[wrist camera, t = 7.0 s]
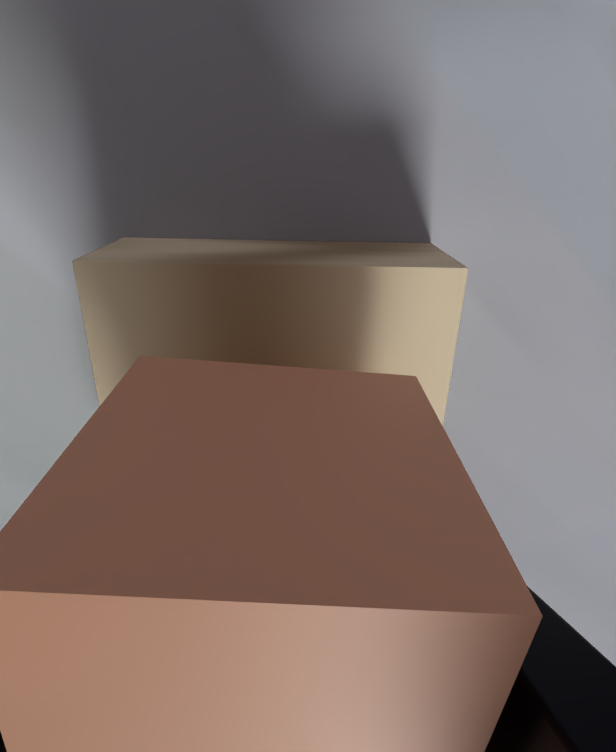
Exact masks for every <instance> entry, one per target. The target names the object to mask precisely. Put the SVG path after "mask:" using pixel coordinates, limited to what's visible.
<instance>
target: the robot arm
mask: <svg viewBox="0 0 616 752" xmlns="http://www.w3.org/2000/svg"><path fill="white" fill-rule="evenodd" d="M527 587H528V586H527ZM528 589H529V591H530V593H531V595H532V597H533V599H534V600H535V602H536V604H537V606H538V608H539V610H540V612H541V614H542V616H543V617H542V619H541V621H540V624H539V626H538V628H537V631H536V633H535V635H534V638H533V640H532V642H531V645H530V647H529V649H528V652H527V654H526V656H525V659H524V661H523V663H522V666H521V668H520V670H519V673H518V675H517V677H516V680H515V682H514V684H513V687H512V689H511V691H510V694H509V696H508V698H507V700H506V703H505V705H504V707H503V710H502V712H501V714H500V717H499V719H498V721H497V724H496V726H495V728H494V731H493V733H492V735H491V738H490V740H489V742H488V745H487V747H486V749H485V752H616V667H615V666H614V665H613V664H612V663H611V662H610V661H609V660H608V659H607V658H606V657H604V656H603V655H602V654H601V653H600V652H599V651H598V650H597V649H596V648H595V647H593V646H592V645H591V644H590V643H589V642H588V641H587V640H586V639H585V638H584V637H583V636H581V635H580V634H579V633H578V632H577V631H576V630H575V629H574V628H573V627H572V626H570V625H569V624H568V623H567V622H566V621H565V620H564V619H563V618H562V617H561V616H559V615H558V614H557V613H556V612H555V611H554V610H553V609H552V608H551V607H550V606H548V605H547V604H546V603H545V602H544V601H543V600H542V599H541V598H540V597H539V596H538V595H536V594H535V593H534V592H533V591H532V590H531V589H530V588H529V587H528ZM0 752H7V750H6V747H5V744H4V741H3V738H2V735H1V731H0Z"/></svg>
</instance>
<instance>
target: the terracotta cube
mask: <svg viewBox="0 0 616 752" xmlns="http://www.w3.org/2000/svg"><path fill="white" fill-rule="evenodd" d="M542 617H543V616H542V614H541V612H540V610H539V608H538V606H537V604H536V602H535V600H534V599H533V597H532V595H531V593H530V591H529V589H528V587H527V585H526V583H525V582H524V580H523V578H522V576H521V574H520V572H519V570H518V568H517V566H516V565H515V563H514V561H513V559H512V557H511V555H510V553H509V551H508V549H507V547H506V546H505V544H504V542H503V540H502V538H501V536H500V534H499V532H498V530H497V529H496V527H495V525H494V523H493V521H492V519H491V517H490V515H489V513H488V511H487V510H486V508H485V506H484V504H483V502H482V500H481V498H480V496H479V494H478V493H477V491H476V489H475V487H474V485H473V483H472V481H471V479H470V477H469V475H468V474H467V472H466V470H465V468H464V466H463V464H462V462H461V460H460V458H459V457H458V455H457V453H456V451H455V449H454V447H453V445H452V443H451V441H450V440H449V438H448V436H447V434H446V432H445V430H444V428H443V426H442V424H441V422H440V421H439V419H438V417H437V415H436V413H435V411H434V409H433V407H432V405H431V404H430V402H429V400H428V398H427V396H426V394H425V392H424V390H423V388H422V386H421V385H420V383H419V381H418V379H417V377H416V376H410V375H397V374H383V373H369V372H356V371H342V370H328V369H315V368H301V367H288V366H274V365H260V364H247V363H233V362H219V361H206V360H192V359H179V358H165V357H151V356H139V357H138V359H137V360H136V361H135V362H134V364H133V365H132V366H131V367H130V369H129V370H128V371H127V372H126V374H125V375H124V376H123V378H122V379H121V380H120V381H119V383H118V384H117V385H116V386H115V388H114V389H113V390H112V391H111V393H110V394H109V395H108V396H107V398H106V399H105V400H104V402H103V403H102V404H101V405H100V407H99V408H98V409H97V410H96V412H95V413H94V414H93V415H92V417H91V418H90V419H89V420H88V422H87V423H86V424H85V426H84V427H83V428H82V429H81V431H80V432H79V433H78V434H77V436H76V437H75V438H74V439H73V441H72V442H71V443H70V444H69V446H68V447H67V448H66V449H65V451H64V452H63V453H62V455H61V456H60V457H59V458H58V460H57V461H56V462H55V463H54V465H53V466H52V467H51V468H50V470H49V471H48V472H47V473H46V475H45V476H44V477H43V479H42V480H41V481H40V482H39V484H38V485H37V486H36V487H35V489H34V490H33V491H32V492H31V494H30V495H29V496H28V497H27V499H26V500H25V501H24V503H23V504H22V505H21V506H20V508H19V509H18V510H17V511H16V513H15V514H14V515H13V516H12V518H11V519H10V520H9V521H8V523H7V524H6V525H5V527H4V528H3V529H2V530H1V532H0V731H1V735H2V738H3V741H4V744H5V747H6V750H7V752H485V749H486V747H487V745H488V742H489V740H490V738H491V735H492V733H493V731H494V728H495V726H496V724H497V721H498V719H499V717H500V714H501V712H502V710H503V707H504V705H505V703H506V700H507V698H508V696H509V694H510V691H511V689H512V687H513V684H514V682H515V680H516V677H517V675H518V673H519V670H520V668H521V666H522V663H523V661H524V659H525V656H526V654H527V652H528V649H529V647H530V645H531V642H532V640H533V638H534V635H535V633H536V631H537V628H538V626H539V624H540V621H541V619H542Z"/></svg>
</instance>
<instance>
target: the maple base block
mask: <svg viewBox="0 0 616 752" xmlns="http://www.w3.org/2000/svg"><path fill="white" fill-rule="evenodd" d="M73 267H74V272H75V278H76V283H77V288H78V294H79V299H80V304H81V310H82V315H83V320H84V326H85V331H86V336H87V342H88V347H89V352H90V358H91V363H92V368H93V374H94V379H95V385H96V390H97V395H98V401H99V406H100V405H101V404H102V403H103V402H104V400H105V399H106V398H107V396H108V395H109V394H110V393H111V391H112V390H113V389H114V388H115V386H116V385H117V384H118V383H119V381H120V380H121V379H122V378H123V376H124V375H125V374H126V372H127V371H128V370H129V369H130V367H131V366H132V365H133V364H134V362H135V361H136V360H137V359H138V357H139V356H151V357H165V358H179V359H192V360H206V361H219V362H233V363H247V364H260V365H274V366H288V367H301V368H315V369H328V370H342V371H356V372H369V373H383V374H397V375H410V376H416V377H417V379H418V381H419V383H420V385H421V386H422V388H423V390H424V392H425V394H426V396H427V398H428V400H429V402H430V404H431V405H432V407H433V409H434V411H435V413H436V415H437V417H438V419H439V421H440V422H441V424H442V426H443V421H444V415H445V409H446V403H447V396H448V390H449V384H450V378H451V372H452V366H453V360H454V354H455V347H456V341H457V335H458V329H459V323H460V317H461V311H462V305H463V298H464V292H465V286H466V280H467V274H468V268H467V267H466V266H464V265H463V264H461V263H460V262H458V261H457V260H455V259H454V258H452V257H451V256H449V255H448V254H446V253H445V252H443V251H442V250H440V249H439V248H437V247H436V246H434V245H433V244H431V243H393V242H340V241H286V240H232V239H179V238H125V237H123V238H121V239H119V240H117V241H115V242H112V243H110V244H108V245H106V246H104V247H102V248H100V249H97V250H95V251H93V252H91V253H89V254H87V255H85V256H82V257H80V258H78V259H76V260H74V261H73Z"/></svg>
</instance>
